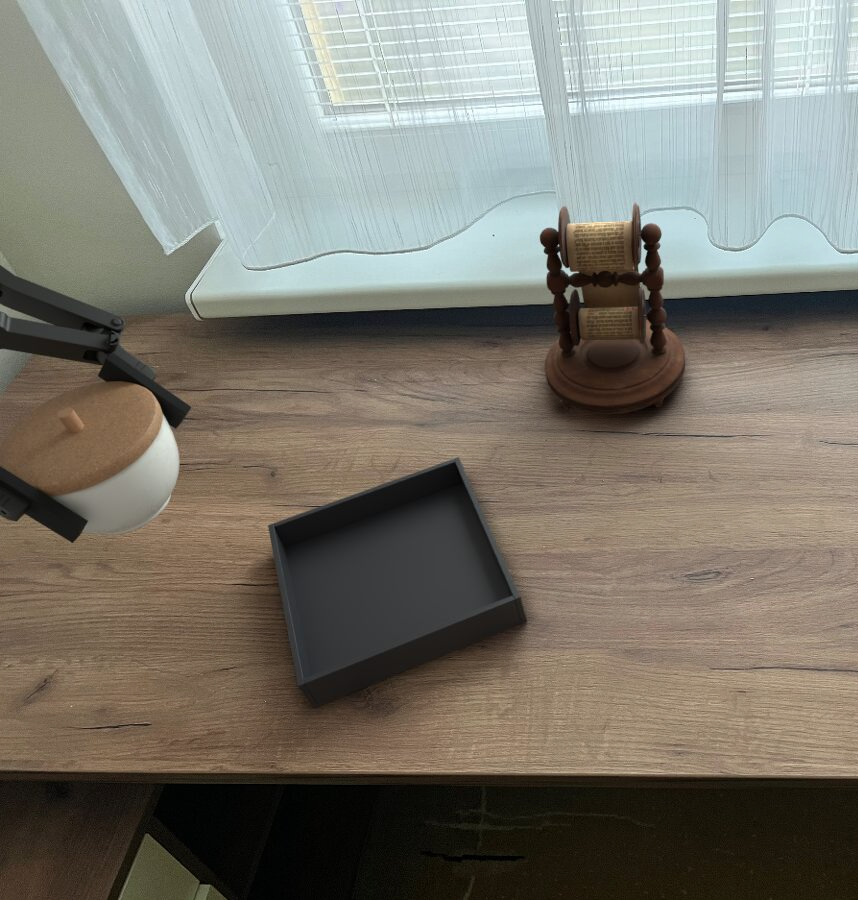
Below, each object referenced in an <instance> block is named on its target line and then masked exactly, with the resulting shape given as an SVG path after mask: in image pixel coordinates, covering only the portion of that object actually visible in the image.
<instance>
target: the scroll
mask: <svg viewBox="0 0 858 900" xmlns="http://www.w3.org/2000/svg"><path fill="white" fill-rule="evenodd" d="M631 214H632V215H631V216H632V217H631V220H623V221H622V220H621V221H600V222H599V221H597V222H596V221H595V222H577V223H576V222H575V223H571V218H570V217H571V216H570V213H569V210H568V207H567V206H565V205H563V206H562V208H560V210H559V213H558V219H557V221H558V222H557V229H556V228H554V227H546V228H544V229H543V230H542V231H541V232H540V234H539V242H540V244H541V246H542V247H543V253H544V254H545V255H547V256H546V269H547V271H548V272H547V273H546V277H545V279H546V280H545V281H546V288H547V289H548V290H549V291H550V292H551V294H552V295H553V303H552V306H553V309H554V310H555V312H554V313H553V316H552V317H553V318H552V319H553V323H554V325H556V327H557V328H556V331H557V333H558V334H560V335H559V338H558V339H557V340H556V341H555V342H554V343H553V345H552V346H551V347H550V349H549V350H548V352H547V354H546V357H545V360H544V373H545V379H546V383H547V385H548V388H549V390H550V391H551V393H552V394H553V395H554V396H555V397H556V398H557V399H558V400H560V402H561V404H562V406H563V407H564V408H565V409H570V408H573V409H576V410H579V411H583V412H588V413H592V414H601V415H614V414H623V413H625V414H626V413H629V412H634V411H638V410H642V409H644V408H645V409H646V408H647V407H650V406H652V405H654V406H655V407H656V408H660V407H662V405H663V402H664V398H666V397H667V396H668V395H669V394H671V393H672V392H673V391H674V390H675V389H676V388H677V387H678V385H679V384H680V382H681V381H682V379H683V377H684V374H685V370H686V352H685V349H684V346H683V343H682V342H681V340H680V339H679V337H678V336H677V335H676V334H675V333H674V332H672V330H670V329H669V328H667V327H666V324H665V321H666V319H667V312H666V311H667V310H665V308H663V306H664V298H663V295H662V293H661V291H662V290H663V286H664V285H665V278H664V277H665V273H664V268H663V267H662V266H661V265H662V259H661V256H660V253H659V251H658V250H659V249H660V248H661V243H660V240H661V238H662V234H663V233H662V229H661V227H660V226H659V225H658V224H656V223H653V222H649V223H647V224H645V225H643V226H642V218H641V210H640V206H639V204H638V203H637V202H634V203H633V205H632V213H631ZM642 243H643V244H642ZM642 245H643V246H642ZM642 247H643V250H645V251H646V254H645V259H644V264H645V266H646V267H645V269H644V270H643V271H642V272H641V273H640V271H639V265H640V264H641V261H642ZM563 267H564V268H565V269H569V271H570V272H571V273H572V274H571V275H569V274H568V273H566V271H565V270H563ZM641 283H642V285H643V286H645V287H646V289H647V291H648V292H649V296H648V299H647V303H646V294H645V289H644V288H643V287H642V286H641ZM569 286H571V287H573V288H575V289H573V290H572V291H571V293H570V295H569V296H570V298H569V301H568V299H567V297H566V296H565V294H566V292H567V289H568V288H569ZM577 288H581V295H582V301H583V307H582V306H581V305H582V304H581V299H580V298H581V297H580V294H579V291H578V289H577ZM647 304H648V306H649V309H648V311H647ZM568 308H569V309H568Z"/></svg>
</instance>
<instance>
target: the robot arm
mask: <svg viewBox="0 0 858 900" xmlns="http://www.w3.org/2000/svg"><path fill="white" fill-rule="evenodd" d="M0 305H1V306H4V307H6V308H8V309H10V310H13V311H16V312H18V313H21V314H24V315H26V316H29V317H31V318H34V319H37V320H40V321H42V322H38V321H34V320H28V319H23V318H17V317H12V316H9V315H8V314H7V313H6V312H4V311H0V350H8V351H13V352H19V353H24V354H25V353H26V354H32V355H36V356H43V357H48V358H55V359H60V360H67V361H72V362H77V363H84V364H91V365H95V366H101V368H100V370H99V373H98V374H97V377H98V378H100V379H101V380H103V382H112V381H121V382H129V383H134V384H138V385H140V386H142V387H144V388H146V389H148V390H149V391H150V392H152V394H153V395H154V396H155V398H156V399H157V401H158V403H159V405H160V407H161V410H162V413H163V415H164V416H165V418H166V420H167V422H168V423H169V425H170V427H172V428H173V429H175V430H177V428H179V426H180V425H181V424H182V423H183V421H184V420H185V418H186V417H187V415H188V413H189V412H190V411H191V410H192V406H191V405H189V404H188V403H187V402H186V401H184V400H182V399H181V398H179V397H178V396H176V395H175V394H173V392H171V391H170V390H168V389H167V388H165V387H163V386H162V385H161V384H159V383H158V382H156V381H155V380H156V377H157V375H158V374H157V373H156V372H155V370H154V369H153V368H152V367H150V366H149V365H148V364H146V363H144V362H143V361H141V360H140V359H139V358H138V357H136V356H135V355H134V354H132V353H130V352H129V351H127V350H126V349H125V348H124V347H123V346H122V345H121V342H120V341H121V337H122V335H123V332H124V330H125V327H126V321H125V319H124V318H123V317H122V316H119V315H117V314H115V313H113V312H109V311H108V310H107V311H106V310H104V309H102V308H98V307H97V306H94V305H91V304H89V303H87V302H83V301H81V300H78V299H76V298H73V297H71V296H69V295H66V294H64V293H62V292H58V291H55V290H54V289H51V288H48V287H46V286H43V285H40V284H38V283H35V282H33V281H30V280H28V279H25V278H23V277H20V276H17V275H15V274H14V273H12V272H11V271H9V270H8V269H7V268H6V267H4V266H3V265H2V264H0ZM44 322H45V323H44ZM24 515H26V516H28V517H29V518H31V519H33V520H34V521H36V522H37V523H39V524H41V526H44V527H45V528H47V529H48V530H50V531H52V532H54V533H55V534H56V535H58V536H60V537H62V538H63V539H65V540H67V541H68V542H70V543H72V544H74V543H75V542H76V541H77V539H78V538H79V537H80V536H81V534H83V533H82V531H83V529H84V527H85V526H86V524H87V522H88V520H86V519H84V518H83V517H81V516H80V515H78V514H76V513H75V512H73V511H72V510H70V509H68V508H67V507H65V506H64V505H62V504H60V503H59V502H57V501H56V500H54V499H52V498H51V497H49V496H48V495H46V494H44V493H43V492H41V491H40V490H38V489H36V488H35V487H33V486H32V485H30V484H28V483H27V482H25V481H24V480H22V479H20V478H19V477H17V476H16V475H14V474H12V473H11V472H9V471H8V470H6V469H4V468H3V467H1V466H0V517H2V518H4V519H6V521H12V522H16V523H17V522H18V521H19V520H20V519H21V518H22V517H23V516H24Z"/></svg>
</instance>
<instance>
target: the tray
mask: <svg viewBox="0 0 858 900" xmlns="http://www.w3.org/2000/svg"><path fill="white" fill-rule="evenodd" d="M267 528H268V534H269V538H270V543H271V549H272V554H273V560H274V566H275V571H276V576H277V581H278V588H279V593H280V598H281V604H282V609H283V613H284V619H285V624H286V630H287V635H288V640H289V646H290V651H291V657H292V663H293V667H294V673H295V678H296V684H297V687H298V689H299V691H300V692H301V693H302V695H303V697H304V698H305V700H306V701H307V702H308V704H309V705H310V707H311V708H312V709H315V708H318V707H320V706H323V705H325V704H328V703H330V702H332V701H335V700H338V699H340V698H343V697H345V696H347V695H350V694H353V693H355V692H357V691H360V690H362V689H364V688H367V687H369V686H373V685H374V684H377V683H380V682H382V681H385V680H387V679H389V678H392V677H394V676H397V675H399V674H401V673H404V672H406V671H409V670H411V669H414V668H417V667H418V666H421V665H423V664H426V663H429V662H431V661H434V660H436V659H438V658H441V657H443V656H446V655H449V654H451V653H453V652H455V651H458V650H461V649H463V648H465V647H467V646H470V645H472V644H475V643H478V642H480V641H483V640H485V639H488V638H490V637H492V636H496V635H498V634H500V633H502V632H505V631H507V630H510V629H512V628H514V627H517V626H519V625H522V624H524V623H527V622H528V620H527V619H528V618H527V616H526V612H525V608H524V605H523V601H522V598H521V595H520V593H519V590H518V588H517V586H516V583H515V581H514V580H513V579H514V578H513V577H512V575H511V572H510V570H509V568H508V566H507V563H506V561H505V559H504V557H503V554H502V552H501V550H500V547H499V545H498V543H497V540H496V539H495V537H494V534H493V532H492V529H491V527H490V525H489V523H488V520H487V518H486V516H485V513H484V512H483V509H482V506H481V504H480V503H479V500H478V498H477V495H476V493H475V490H474V488H473V486H472V485H471V482H470V480H469V477H468V475H467V473H466V470H465V468H464V466H463V464H462V461H461V460H460V457H459V456H458V457H454V458H453V459H452V458H451V459H448V460H446V461H444V462H440V463H438V464H435V465H433V466H429V467H427V468H424V469H420V470H418V471H415V472H412V473H410V474H407V475H404V476H401V477H399V478H396V479H393V480H391V481H387V482H385V483H381V484H379V485H377V486H374V487H371V488H368V489H366V490H362V491H359V492H357V493H354V494H352V495H348V496H345V497H343V498H340V499H337V500H334V501H331V502H329V503H326V504H323V505H321V506H318V507H314V508H313V509H312V508H311V509H309V510H306V511H304V512H301V513H299V514H295V515H293V516H290V517H287V518H284V519H281V520H279V521H276V522H273V523H270V524H267Z"/></svg>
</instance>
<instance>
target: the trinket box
mask: <svg viewBox="0 0 858 900" xmlns="http://www.w3.org/2000/svg"><path fill="white" fill-rule="evenodd" d="M171 427H172V426H170V425H169V423H168V422H167V420H166V418H165V416H164V415H163V413H162V410H161V407H160V405H159V403H158V401H157V399H156V398H155V396H154V395H153V394H152V392H150V391H149V390H148V389H146V388H144V387H142V386H140V385H138V384H134V383H129V382H121V381H112V382H106V381H102V382H95V383H92V384H86V385H83V386H80V387H76V388H73V389H70V390H69V391H65V392H63V393H61V394H59V395H56V396H54V397H52V398H50V399H48V400H47V401H44V402H43V403H41V404H40V405H38V406H37V407H35V408H33V409H32V410H31V411H29V412H28V413H27V414H26V415H24V416H23V417H22V418H21V419H20V420H19V421H17V422H16V424H14V425H13V426H12V428H11V429H9V431H8V432H7V434H6V435H5V437H4V438H3V440H1V443H0V466H1V467H3V468H4V469H6V470H8V471H9V472H11V473H12V474H14V475H16V476H17V477H19V478H20V479H22V480H24V481H25V482H27V483H28V484H30V485H32V486H33V487H35V488H36V489H38V490H40V491H41V492H43V493H44V494H46V495H48V496H49V497H51V498H52V499H54V500H56V501H57V502H59V503H60V504H62V505H64V506H65V507H67V508H68V509H70V510H72V511H73V512H75V513H76V514H78V515H80V516H81V517H83V518H84V519H86V520H88V522H87V524H86V526H85V527H84V529H83V531H82V533H81V534H85V535H102V536H121V535H125V534H128V533H129V534H130V533H133V532H134V531H136V530H140V529H141V528H143V527H145V526H147V525H148V524H150V523H151V522H152V521H154V520H155V519H156V518H157V517H159V516H160V515H161V514H162V512H164V510H165V509H166V507H168V504H169V503H170V500H171V497H172V493H173V492H174V489H175V487H176V486H177V482H178V479H179V473H180V467H181V466H180V452H179V448H178V444H177V440H176V438H175V435H174V433H173V429H172V428H171Z"/></svg>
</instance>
